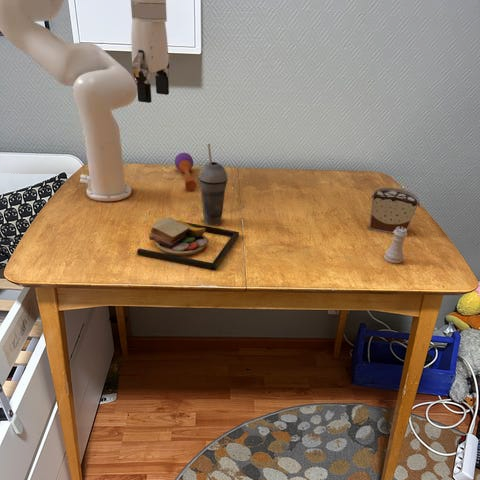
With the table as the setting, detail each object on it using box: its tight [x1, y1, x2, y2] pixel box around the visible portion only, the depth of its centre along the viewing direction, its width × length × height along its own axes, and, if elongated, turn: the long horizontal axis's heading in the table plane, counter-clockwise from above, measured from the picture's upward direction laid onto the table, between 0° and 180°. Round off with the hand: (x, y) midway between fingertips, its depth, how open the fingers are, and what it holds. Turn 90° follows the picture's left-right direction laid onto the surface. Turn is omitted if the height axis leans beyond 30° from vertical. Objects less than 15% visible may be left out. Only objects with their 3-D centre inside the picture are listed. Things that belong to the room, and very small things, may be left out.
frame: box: [136, 219, 240, 271], centre depth 113 cm, size 19×18×1 cm
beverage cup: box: [198, 143, 228, 226], centre depth 118 cm, size 7×7×20 cm
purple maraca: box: [174, 152, 197, 192], centre depth 146 cm, size 6×6×20 cm
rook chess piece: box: [383, 227, 408, 264], centre depth 110 cm, size 4×4×8 cm
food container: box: [368, 187, 421, 234], centre depth 123 cm, size 12×6×10 cm, turn 71°
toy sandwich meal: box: [148, 217, 208, 257], centre depth 112 cm, size 12×14×5 cm
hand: (154, 97), depth 112 cm, fingers open, 9 cm apart
